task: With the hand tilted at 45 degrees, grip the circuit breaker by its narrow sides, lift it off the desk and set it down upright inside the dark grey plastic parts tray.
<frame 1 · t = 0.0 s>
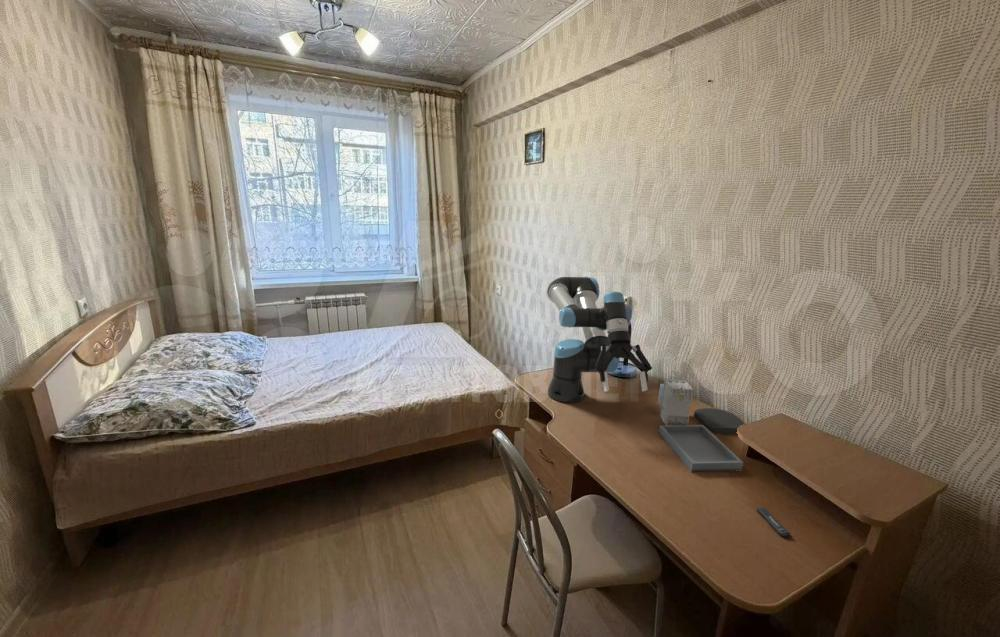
hand: (625, 391, 140), 15 cm above the table, tool tilted 35°, fingers open, 13 cm apart
media streaming box: (718, 424, 151), on the table
usb stick: (772, 525, 103), on the table
circuit breaker: (670, 417, 154), on the table
parts tray: (696, 450, 133), on the table
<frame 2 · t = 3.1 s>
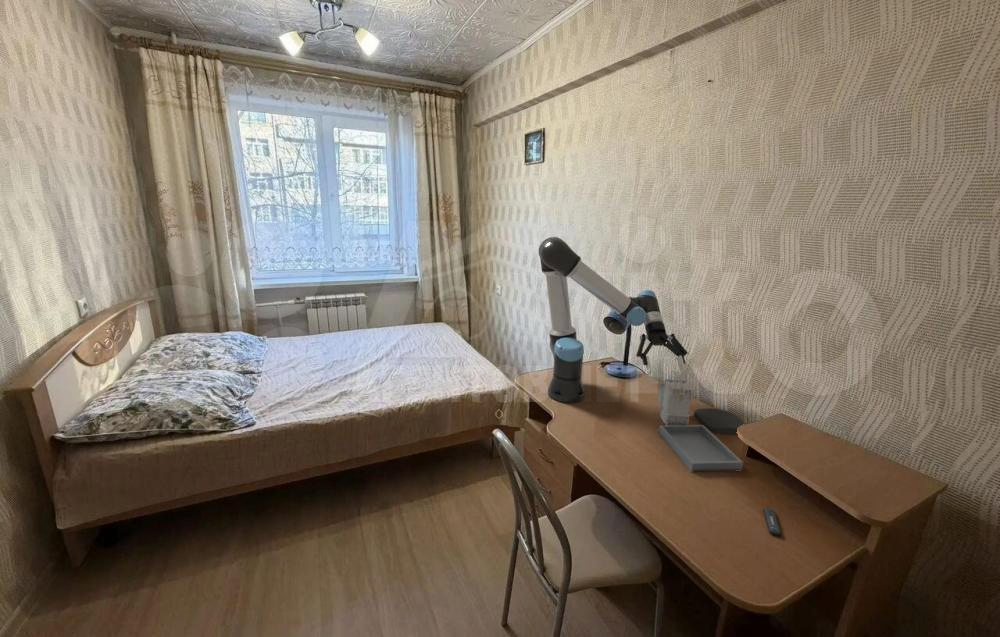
hand: (666, 372, 158), 15 cm above the table, tool tilted 45°, fingers open, 13 cm apart
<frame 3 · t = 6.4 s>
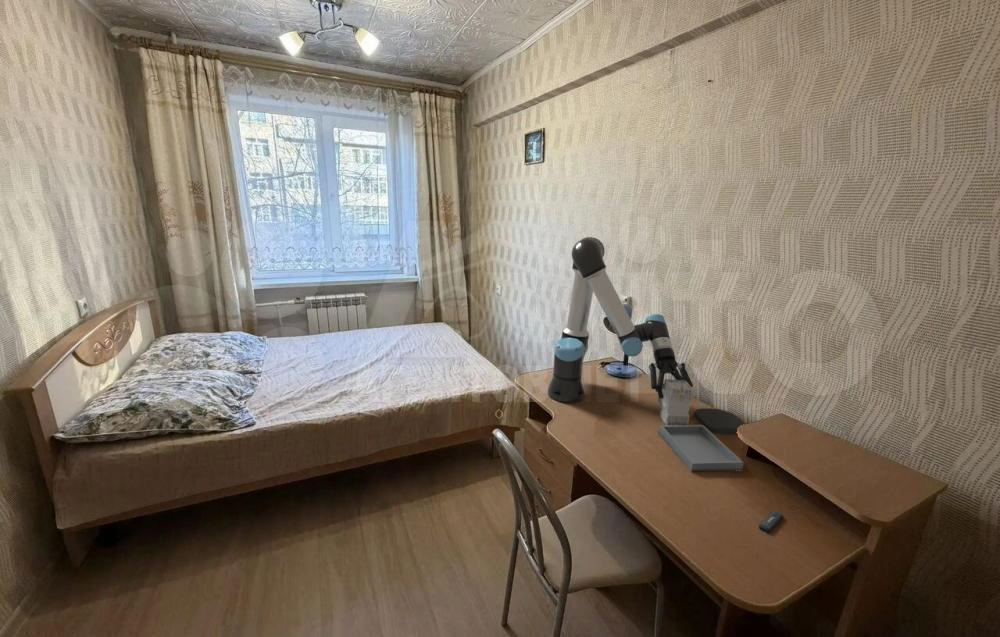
hand: (677, 406, 149), 6 cm above the table, tool tilted 45°, fingers closed on circuit breaker, 8 cm apart
circuit breaker: (670, 417, 154), on the table, touching gripper
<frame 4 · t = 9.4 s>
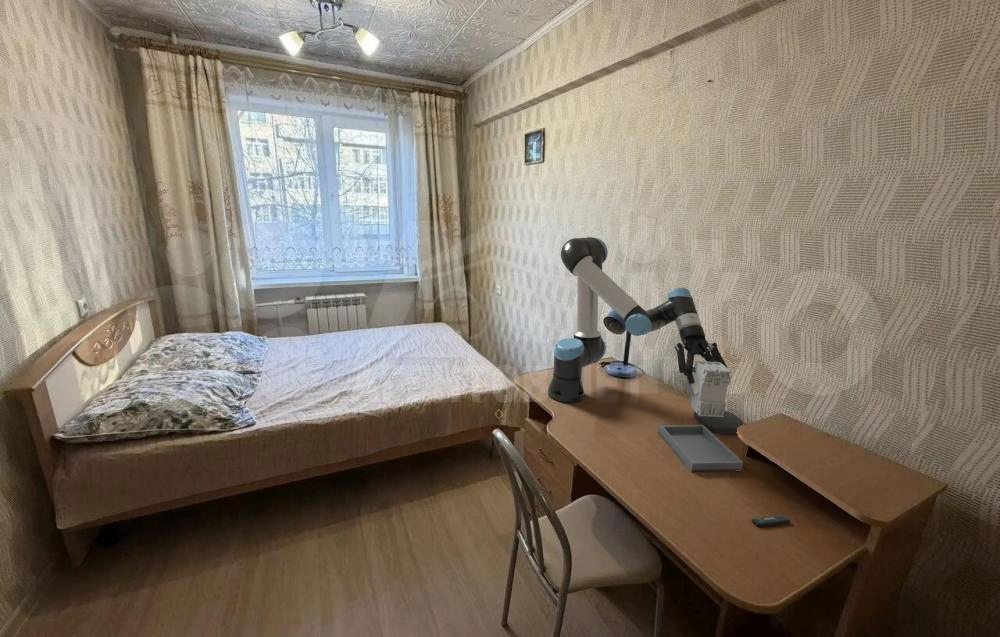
hand: (710, 392, 127), 21 cm above the table, tool tilted 45°, fingers closed on circuit breaker, 8 cm apart
circuit breaker: (701, 406, 132), point 15 cm above the table, touching gripper
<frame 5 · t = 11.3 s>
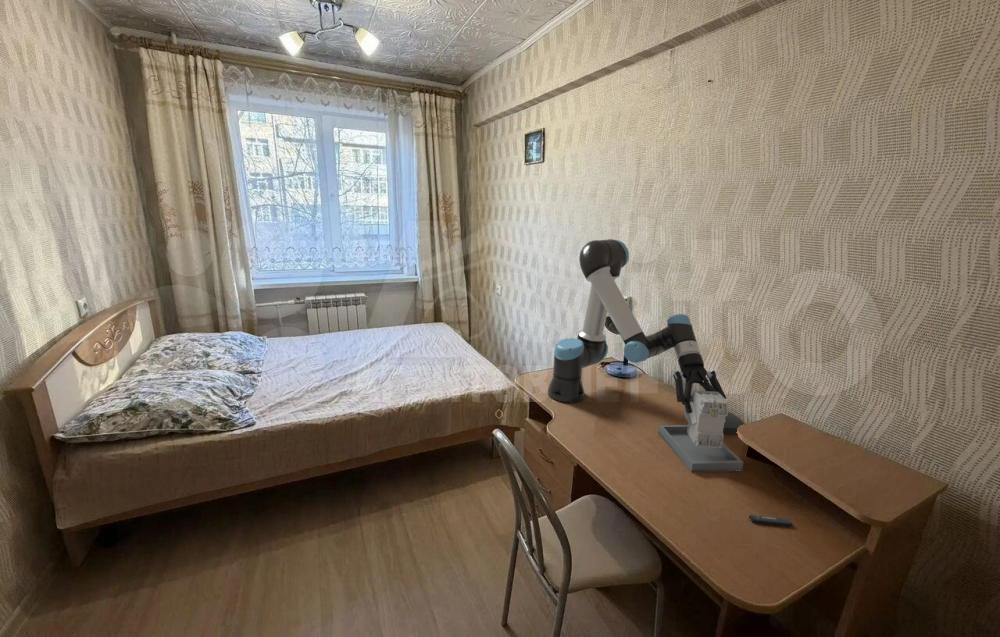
hand: (708, 423, 127), 12 cm above the table, tool tilted 45°, fingers closed on circuit breaker, 8 cm apart
circuit breaker: (700, 435, 131), point 6 cm above the table, touching gripper
when the fingers open (8 cm above the table, at t = 12.8 s): circuit breaker drops 1 cm, resting on parts tray.
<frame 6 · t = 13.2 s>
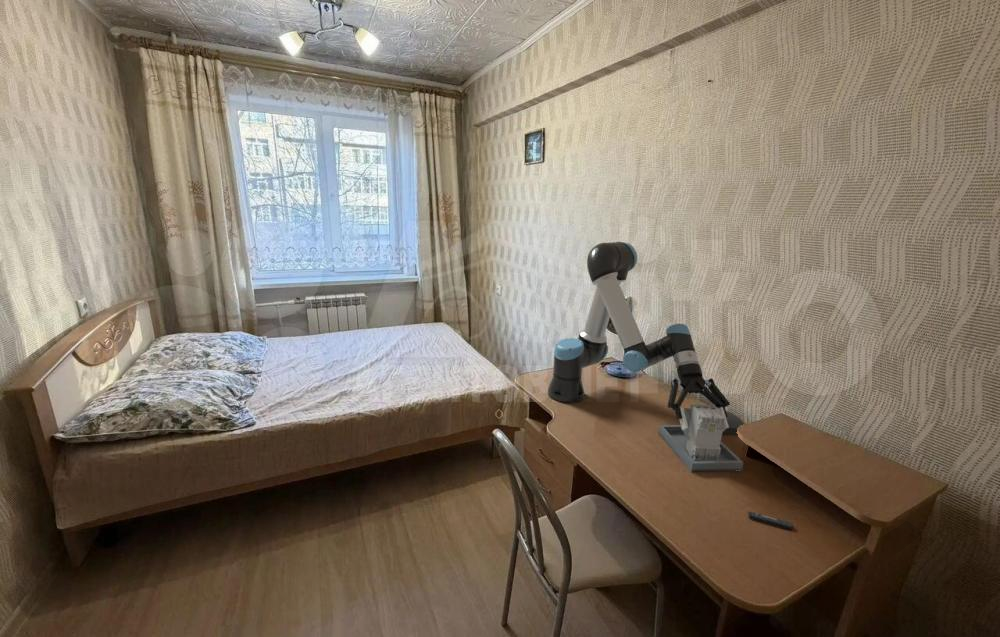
hand: (705, 428, 128), 9 cm above the table, tool tilted 45°, fingers open, 13 cm apart
circuit breaker: (696, 448, 133), point 1 cm above the table, touching parts tray
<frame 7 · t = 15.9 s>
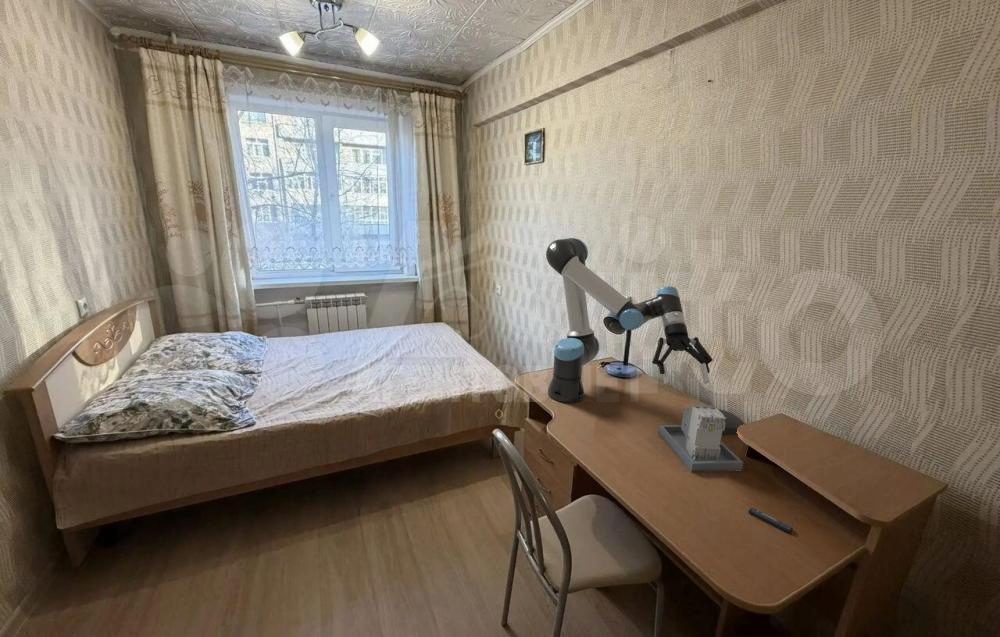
hand: (687, 382, 138), 19 cm above the table, tool tilted 40°, fingers open, 13 cm apart
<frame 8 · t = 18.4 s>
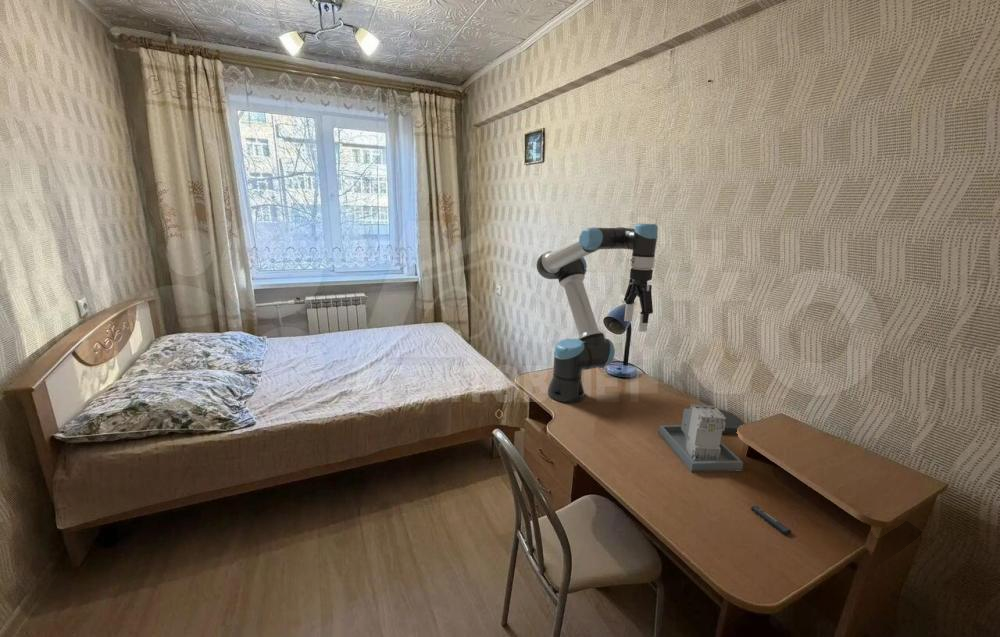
hand: (635, 326, 149), 35 cm above the table, tool pointing down, fingers open, 13 cm apart
at the end: circuit breaker inside the target area on the parts tray (0.3 cm from its centre), point 0.6 cm above the parts tray's base; circuit breaker tilted 0°; the gripper is holding nothing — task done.
